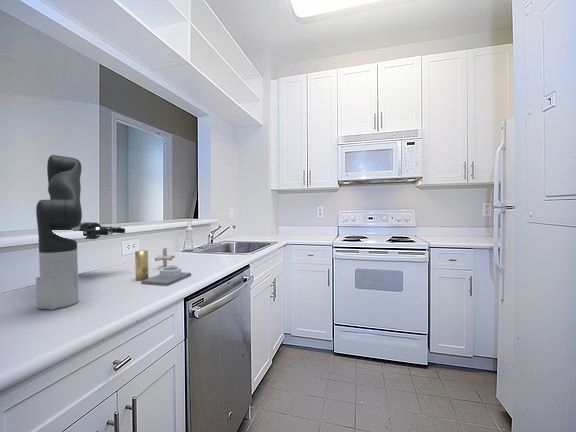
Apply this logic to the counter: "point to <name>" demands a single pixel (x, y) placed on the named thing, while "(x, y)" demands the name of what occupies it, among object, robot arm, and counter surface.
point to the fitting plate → (164, 280)
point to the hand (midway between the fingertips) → (116, 231)
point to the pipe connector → (164, 257)
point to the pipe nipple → (141, 265)
